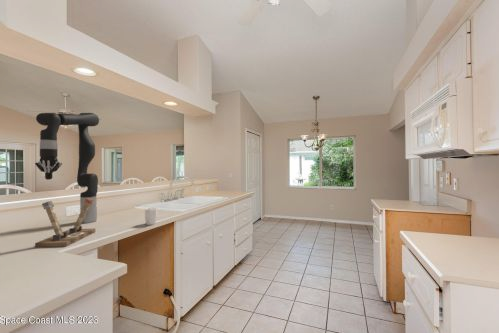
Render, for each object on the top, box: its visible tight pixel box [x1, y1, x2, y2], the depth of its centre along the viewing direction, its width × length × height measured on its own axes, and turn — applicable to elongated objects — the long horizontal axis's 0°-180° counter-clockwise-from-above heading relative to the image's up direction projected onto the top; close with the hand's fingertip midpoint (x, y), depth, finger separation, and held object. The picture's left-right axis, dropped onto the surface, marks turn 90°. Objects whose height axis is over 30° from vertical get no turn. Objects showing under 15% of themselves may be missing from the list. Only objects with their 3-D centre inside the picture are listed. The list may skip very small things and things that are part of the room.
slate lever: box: [41, 200, 64, 237], centre depth 115 cm, size 3×3×19 cm
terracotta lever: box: [73, 198, 93, 230], centre depth 127 cm, size 3×3×19 cm
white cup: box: [144, 207, 158, 226], centre depth 153 cm, size 8×8×10 cm
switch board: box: [34, 225, 96, 248], centre depth 121 cm, size 24×14×4 cm, turn 6°
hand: (48, 179), depth 128 cm, fingers closed
